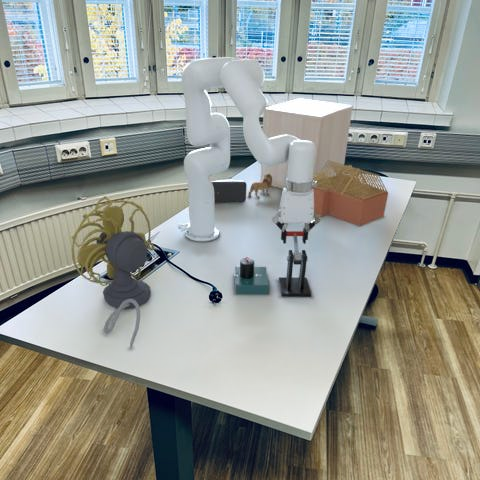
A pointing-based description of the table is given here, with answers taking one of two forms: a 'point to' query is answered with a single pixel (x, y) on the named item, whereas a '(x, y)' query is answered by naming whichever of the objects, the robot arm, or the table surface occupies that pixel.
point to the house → (349, 194)
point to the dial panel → (252, 282)
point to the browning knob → (246, 268)
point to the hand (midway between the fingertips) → (294, 241)
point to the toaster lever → (296, 246)
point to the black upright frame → (295, 279)
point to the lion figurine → (261, 185)
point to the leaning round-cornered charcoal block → (229, 191)
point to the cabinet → (309, 132)
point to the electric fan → (116, 259)
